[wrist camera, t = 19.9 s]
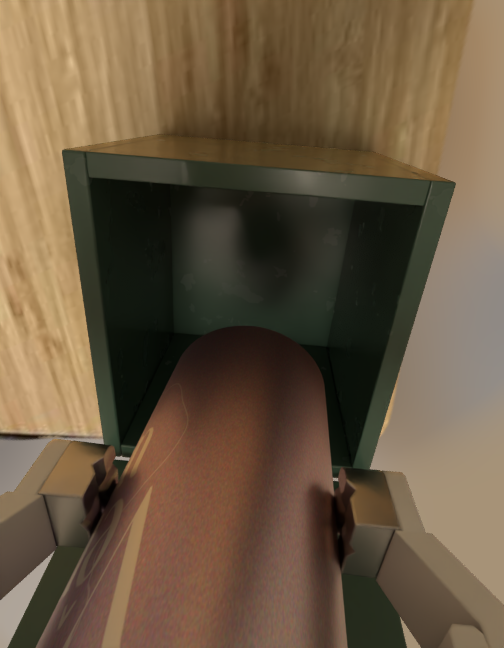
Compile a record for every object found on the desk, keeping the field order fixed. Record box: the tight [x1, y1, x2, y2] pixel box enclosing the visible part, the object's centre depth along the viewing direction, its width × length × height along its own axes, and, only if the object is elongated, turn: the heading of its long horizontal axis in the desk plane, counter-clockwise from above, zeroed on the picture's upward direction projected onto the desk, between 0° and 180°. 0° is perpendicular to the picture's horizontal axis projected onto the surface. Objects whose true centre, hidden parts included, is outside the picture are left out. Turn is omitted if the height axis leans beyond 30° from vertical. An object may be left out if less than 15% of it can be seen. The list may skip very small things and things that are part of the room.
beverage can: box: [36, 326, 348, 648], centre depth 10 cm, size 6×6×15 cm
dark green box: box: [62, 134, 456, 478], centre depth 21 cm, size 14×13×12 cm
